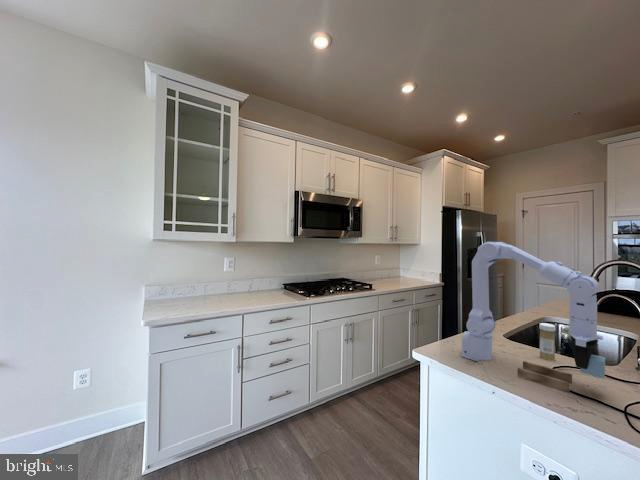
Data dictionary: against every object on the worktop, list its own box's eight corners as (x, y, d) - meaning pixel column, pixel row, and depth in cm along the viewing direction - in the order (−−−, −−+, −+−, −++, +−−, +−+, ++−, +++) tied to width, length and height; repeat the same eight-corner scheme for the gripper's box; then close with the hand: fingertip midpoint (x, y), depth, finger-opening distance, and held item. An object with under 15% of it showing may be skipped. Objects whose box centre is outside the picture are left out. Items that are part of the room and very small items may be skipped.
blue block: (580, 356, 76) (603, 361, 73) (583, 352, 79) (605, 357, 76) (580, 372, 76) (603, 378, 73) (582, 367, 79) (605, 373, 76)
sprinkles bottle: (557, 361, 99) (557, 324, 99) (552, 364, 96) (552, 327, 96) (541, 356, 103) (541, 321, 103) (537, 359, 100) (537, 323, 100)
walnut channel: (517, 379, 85) (517, 368, 85) (523, 371, 91) (523, 360, 91) (568, 395, 77) (568, 383, 77) (571, 385, 82) (572, 373, 82)
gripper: (602, 326, 70) (601, 378, 70) (603, 316, 80) (603, 362, 80) (565, 320, 75) (565, 368, 75) (571, 311, 85) (570, 354, 85)
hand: (582, 364), depth 78 cm, fingers closed on blue block, 4 cm apart
